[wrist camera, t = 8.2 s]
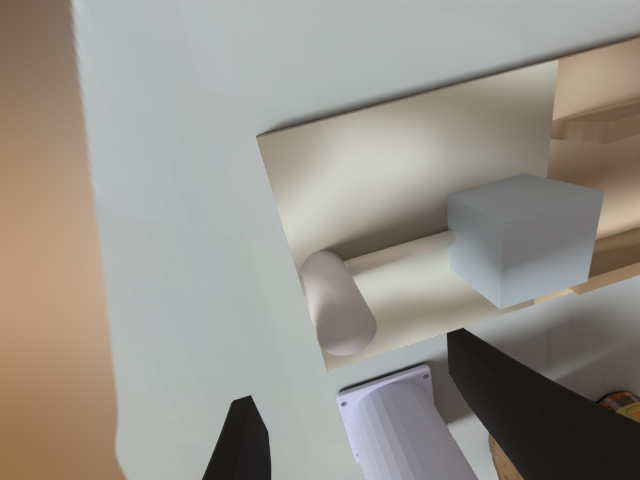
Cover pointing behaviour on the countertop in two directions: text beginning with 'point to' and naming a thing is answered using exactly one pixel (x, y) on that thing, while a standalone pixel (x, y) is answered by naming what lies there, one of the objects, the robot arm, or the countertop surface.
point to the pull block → (471, 253)
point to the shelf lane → (459, 181)
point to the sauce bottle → (623, 404)
